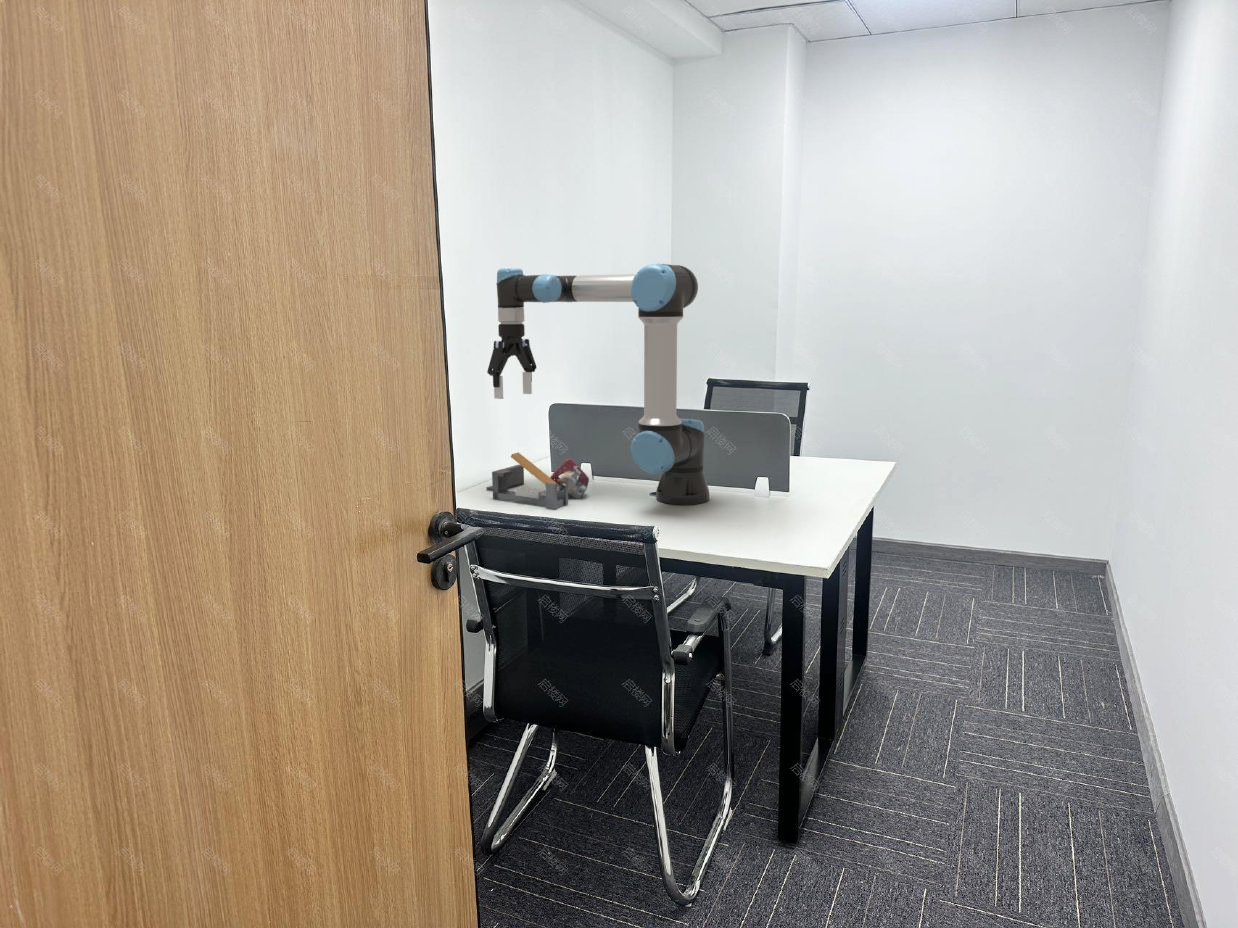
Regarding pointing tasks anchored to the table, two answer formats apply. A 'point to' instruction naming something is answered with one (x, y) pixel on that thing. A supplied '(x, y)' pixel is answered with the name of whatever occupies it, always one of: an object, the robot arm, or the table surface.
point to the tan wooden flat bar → (534, 470)
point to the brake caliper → (572, 478)
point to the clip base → (545, 501)
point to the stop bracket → (513, 477)
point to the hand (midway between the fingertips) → (513, 396)
